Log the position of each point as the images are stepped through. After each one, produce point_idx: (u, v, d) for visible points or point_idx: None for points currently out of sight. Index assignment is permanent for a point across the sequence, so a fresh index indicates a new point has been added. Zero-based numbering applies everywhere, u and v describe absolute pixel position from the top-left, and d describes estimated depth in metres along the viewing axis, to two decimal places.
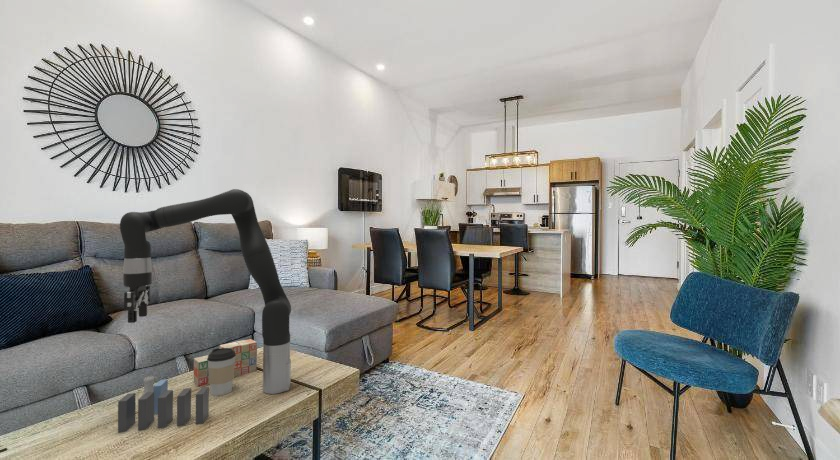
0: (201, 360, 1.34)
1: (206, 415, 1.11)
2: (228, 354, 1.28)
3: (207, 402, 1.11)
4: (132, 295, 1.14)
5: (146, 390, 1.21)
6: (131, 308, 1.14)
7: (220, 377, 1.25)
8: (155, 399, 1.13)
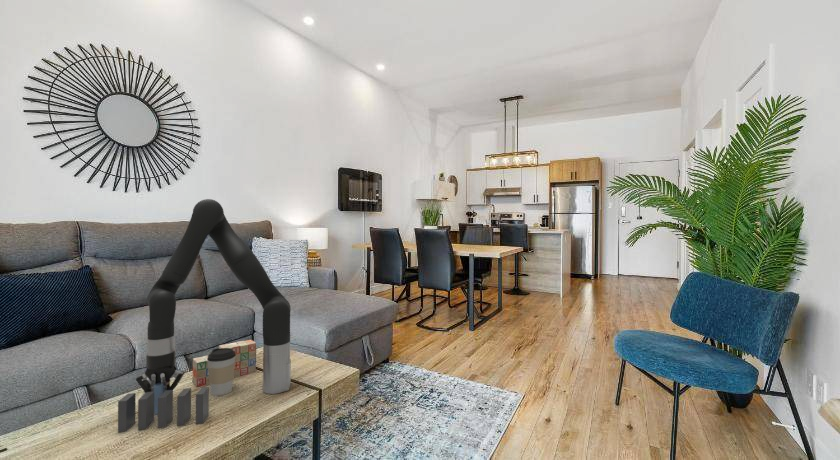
0: (200, 360, 1.34)
1: (206, 415, 1.11)
2: (228, 354, 1.28)
3: (207, 402, 1.11)
4: (182, 375, 1.18)
5: None
6: (175, 386, 1.17)
7: (220, 377, 1.25)
8: (155, 399, 1.13)
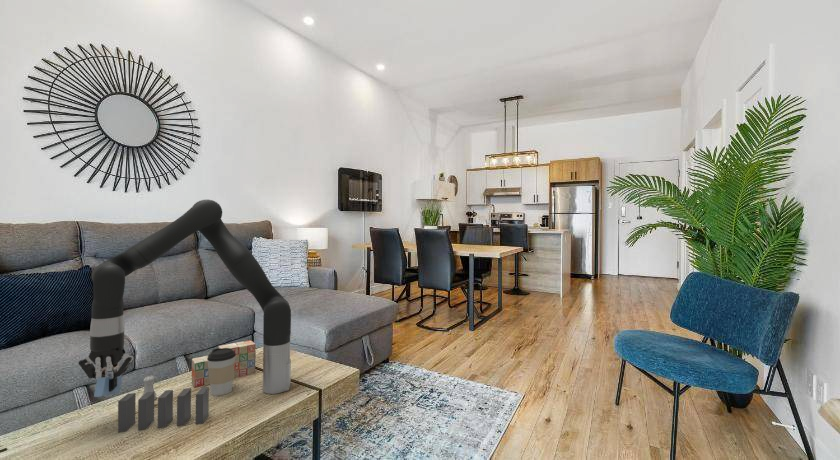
0: (198, 361, 1.34)
1: (206, 415, 1.11)
2: (228, 354, 1.28)
3: (207, 402, 1.11)
4: (132, 359, 1.06)
5: (146, 390, 1.21)
6: (124, 371, 1.06)
7: (220, 377, 1.25)
8: None
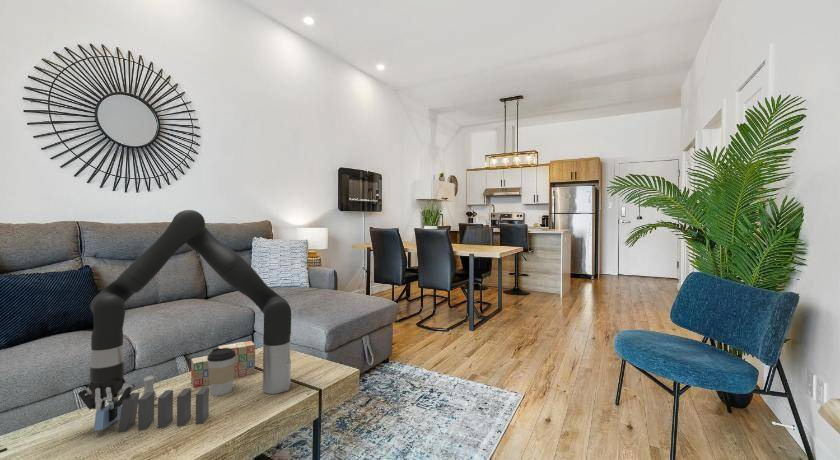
0: (197, 361, 1.33)
1: (206, 415, 1.11)
2: (228, 354, 1.28)
3: (207, 402, 1.11)
4: (132, 389, 1.07)
5: (146, 390, 1.21)
6: None
7: (220, 377, 1.25)
8: None
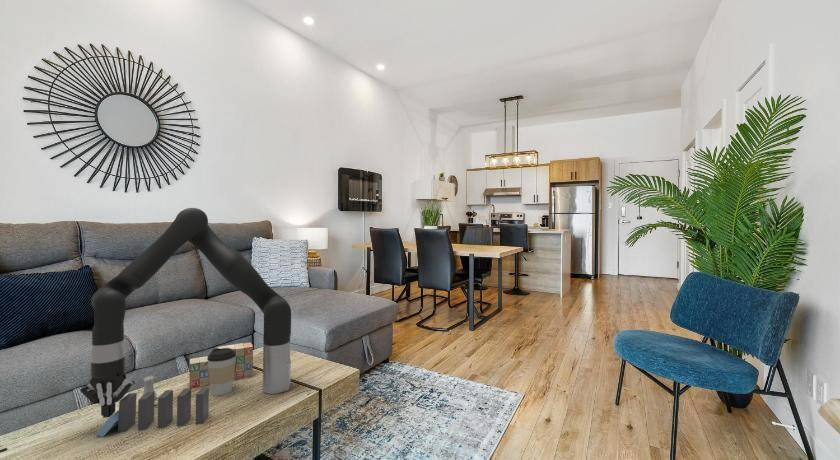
0: (194, 362, 1.33)
1: (206, 415, 1.11)
2: (228, 354, 1.28)
3: (207, 402, 1.11)
4: (132, 385, 1.07)
5: (146, 390, 1.21)
6: (122, 396, 1.06)
7: (220, 377, 1.25)
8: None
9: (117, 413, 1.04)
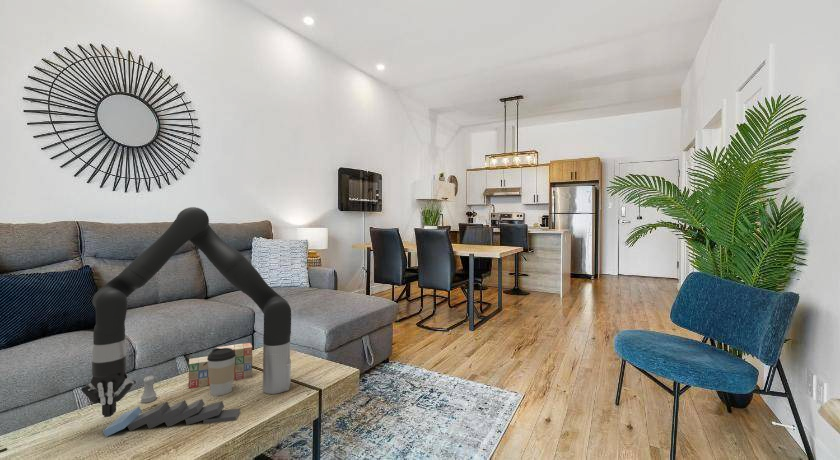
0: (193, 362, 1.33)
1: None
2: (228, 354, 1.28)
3: None
4: (133, 385, 1.07)
5: (146, 390, 1.21)
6: (123, 396, 1.06)
7: (220, 377, 1.25)
8: None
9: (129, 417, 1.05)
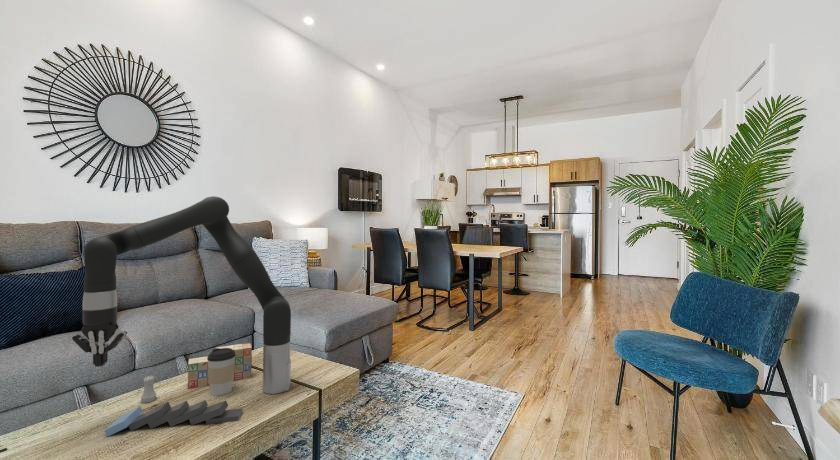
0: (192, 362, 1.32)
1: None
2: (228, 354, 1.28)
3: None
4: (124, 336, 1.06)
5: (146, 390, 1.21)
6: (114, 346, 1.05)
7: (220, 377, 1.25)
8: None
9: (130, 416, 1.05)
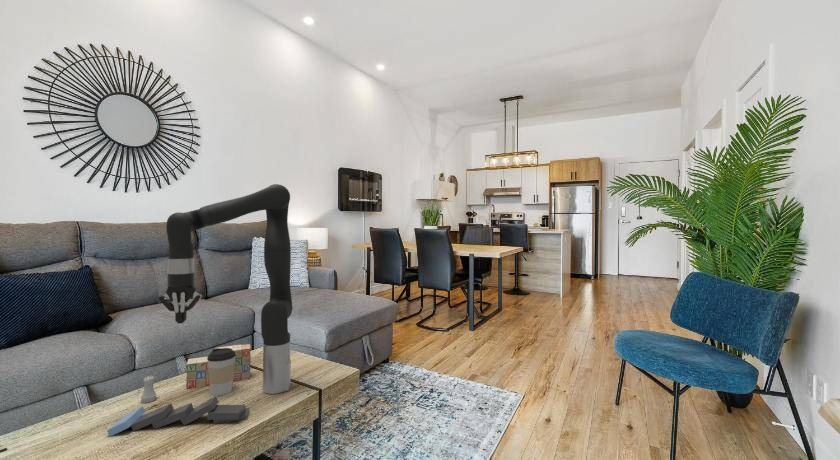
0: (191, 362, 1.32)
1: None
2: (228, 354, 1.28)
3: None
4: (200, 298, 1.23)
5: (146, 390, 1.21)
6: None
7: (220, 377, 1.25)
8: None
9: (133, 416, 1.05)
